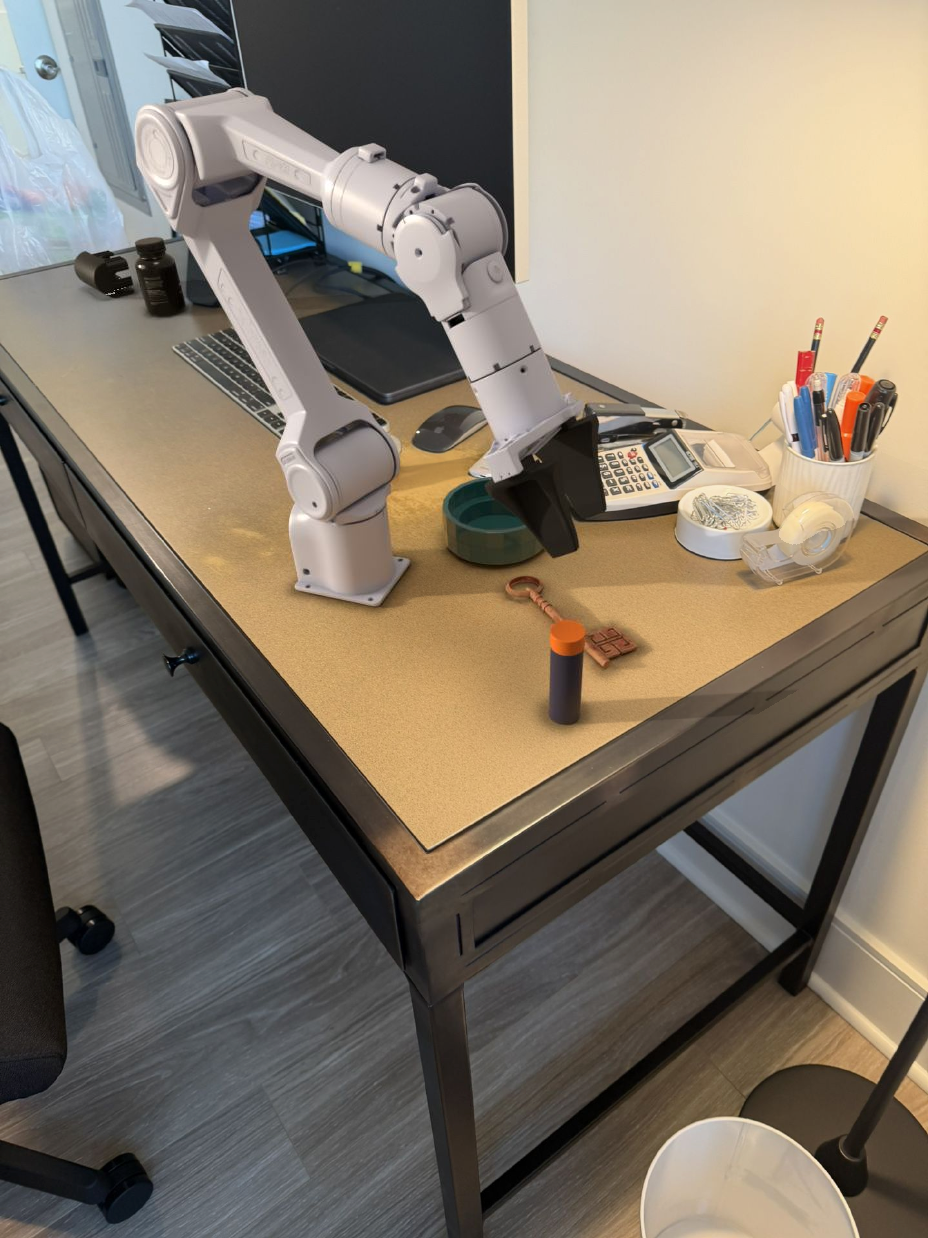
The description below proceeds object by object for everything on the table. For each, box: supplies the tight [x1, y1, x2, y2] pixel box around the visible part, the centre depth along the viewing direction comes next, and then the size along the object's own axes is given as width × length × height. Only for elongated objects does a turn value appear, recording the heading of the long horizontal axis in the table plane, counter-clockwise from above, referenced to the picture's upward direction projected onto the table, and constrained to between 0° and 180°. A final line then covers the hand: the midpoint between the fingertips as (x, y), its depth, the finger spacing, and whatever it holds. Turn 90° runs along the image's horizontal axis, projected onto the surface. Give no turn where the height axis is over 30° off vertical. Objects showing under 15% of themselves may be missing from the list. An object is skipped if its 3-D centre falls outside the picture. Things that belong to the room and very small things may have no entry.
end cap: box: [73, 250, 135, 299], centre depth 162 cm, size 10×7×7 cm
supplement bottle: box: [134, 236, 187, 317], centre depth 150 cm, size 7×7×12 cm
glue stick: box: [548, 619, 587, 726], centre depth 69 cm, size 3×3×9 cm
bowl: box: [441, 476, 544, 566], centre depth 91 cm, size 11×11×4 cm
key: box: [505, 575, 638, 669], centre depth 81 cm, size 6×1×15 cm
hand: (581, 532), depth 65 cm, fingers open, 7 cm apart
